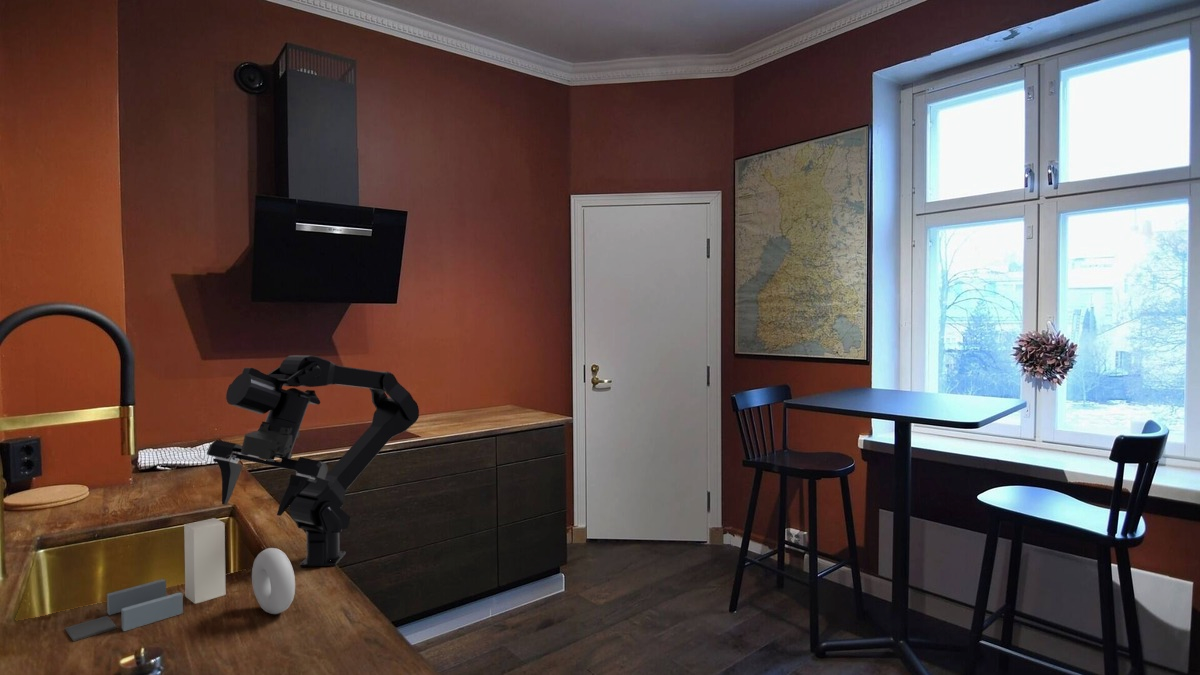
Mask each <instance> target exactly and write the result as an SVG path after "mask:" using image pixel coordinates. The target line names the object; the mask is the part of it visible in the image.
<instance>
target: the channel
mask: <svg viewBox="0 0 1200 675" xmlns="http://www.w3.org/2000/svg"><path fill="white" fill-rule="evenodd" d="M183 594H184V593H182V592H179V591H178V592H176V593H172V594H168V595H167V580H165V579H164V578H162V579H158V580H155V581H151V582H148V583H147V582H146V583H143V584H139V585H136V586H132V587H128V588H124V589H120V590H116V591H112V592H108V593H107V594H106V601H107V602H106V604H107V605H106V607H107V609H106V610H107V612H106V613H107V614H108V616H111V615H115V614H118V613H121V616H120V618H121V620H120V621H121V630H122V632H126V631H130V630H133V629H137V628H139V627H143V626H146V625H149V624H152V623H157V622H159V621H162V620H165V619H168V618H169V619H170V618H171V617H172V618H173V617H175V616H178V615H183V614H184V607H183V606H184V605H183V604H184V603H183V602H184V600H183V598H184V596H183Z"/></svg>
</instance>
